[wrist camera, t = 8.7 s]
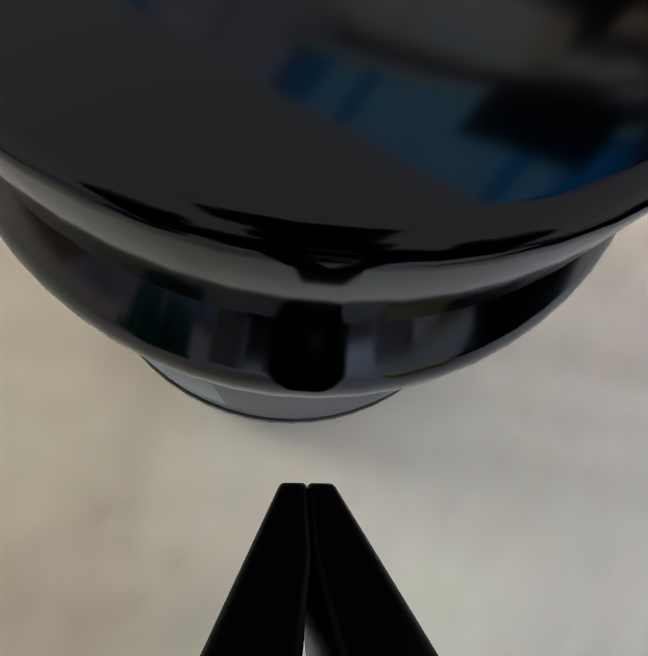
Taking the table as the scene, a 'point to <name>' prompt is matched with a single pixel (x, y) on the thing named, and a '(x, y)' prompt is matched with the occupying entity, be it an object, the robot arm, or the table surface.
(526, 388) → the table surface
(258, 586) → the robot arm
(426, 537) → the table surface
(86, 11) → the supplement container
